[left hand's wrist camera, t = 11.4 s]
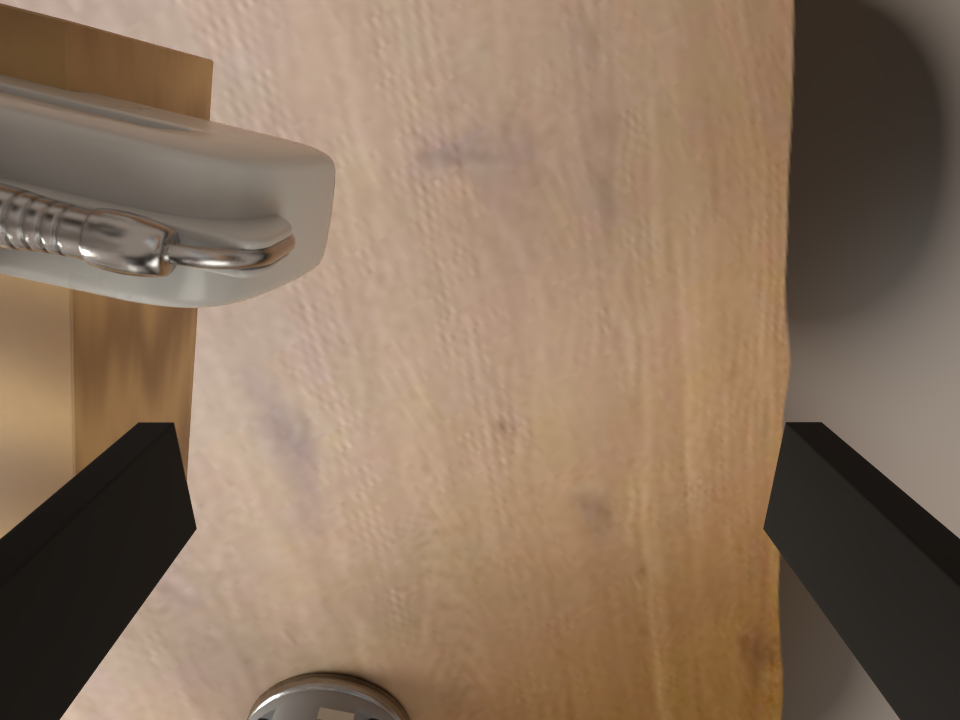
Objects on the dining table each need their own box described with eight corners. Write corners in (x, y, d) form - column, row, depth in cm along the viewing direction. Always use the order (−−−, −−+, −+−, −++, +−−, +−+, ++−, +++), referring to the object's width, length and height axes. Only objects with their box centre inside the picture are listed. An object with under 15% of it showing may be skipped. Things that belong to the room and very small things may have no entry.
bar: (186, 489, 31) (77, 622, 23) (81, 469, 31) (-70, 597, 22) (213, 60, 24) (67, 20, 15) (76, 25, 24) (-153, -36, 15)
